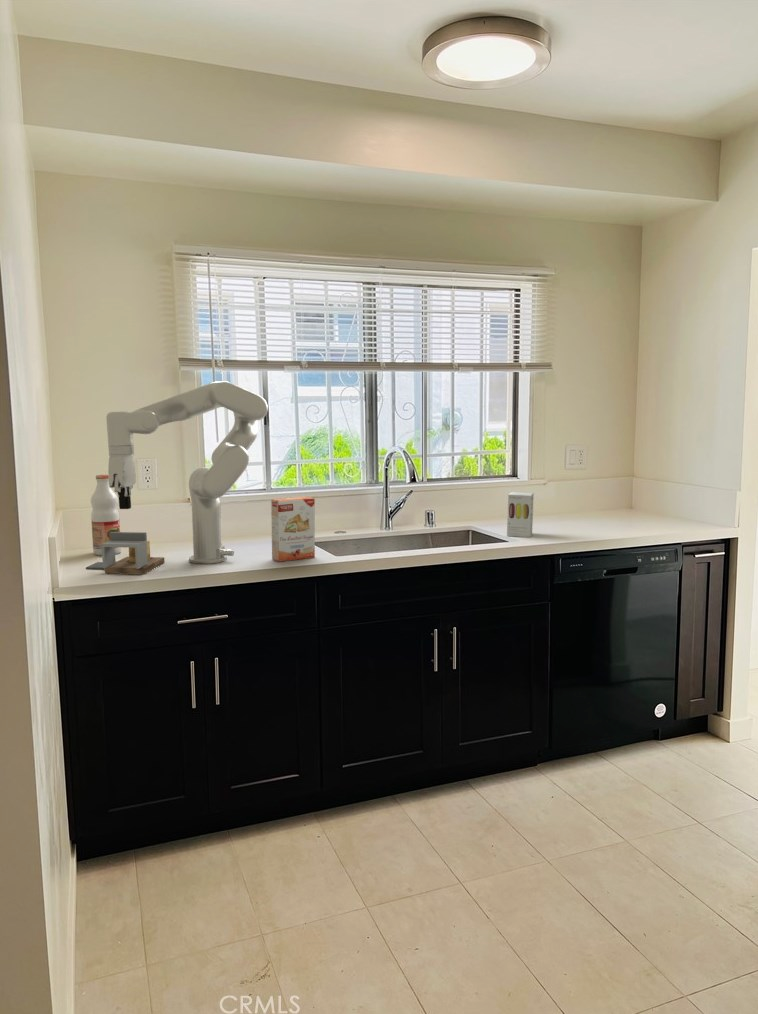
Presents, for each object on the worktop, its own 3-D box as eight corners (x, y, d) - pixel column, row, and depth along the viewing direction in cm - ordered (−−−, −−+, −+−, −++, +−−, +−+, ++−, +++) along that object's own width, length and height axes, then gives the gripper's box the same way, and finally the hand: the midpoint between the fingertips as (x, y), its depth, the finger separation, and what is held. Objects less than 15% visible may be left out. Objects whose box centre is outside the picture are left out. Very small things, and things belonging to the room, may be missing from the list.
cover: (147, 563, 239) (146, 532, 237) (138, 568, 232) (136, 536, 230) (113, 563, 240) (111, 531, 239) (102, 568, 233) (101, 535, 232)
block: (150, 564, 249) (149, 540, 248) (144, 567, 244) (143, 543, 243) (136, 564, 249) (135, 540, 248) (129, 567, 244) (128, 543, 243)
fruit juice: (98, 550, 272) (94, 474, 268) (124, 550, 272) (120, 473, 268) (89, 556, 262) (84, 476, 258) (116, 555, 262) (112, 476, 258)
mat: (120, 564, 249) (120, 562, 249) (109, 569, 241) (109, 567, 241) (97, 563, 250) (97, 562, 250) (85, 569, 242) (85, 567, 242)
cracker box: (279, 562, 251) (277, 500, 248) (271, 559, 256) (270, 498, 253) (316, 557, 258) (315, 497, 255) (307, 554, 263) (306, 495, 260)
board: (164, 563, 250) (164, 557, 250) (144, 574, 235) (144, 567, 234) (127, 562, 252) (127, 556, 251) (105, 573, 236) (104, 567, 236)
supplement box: (506, 536, 297) (507, 494, 295) (509, 532, 306) (510, 491, 304) (530, 537, 294) (531, 495, 292) (532, 533, 303) (534, 492, 301)
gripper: (120, 449, 243) (124, 505, 246) (98, 453, 228) (103, 512, 231) (142, 449, 242) (146, 505, 245) (122, 452, 227) (126, 512, 230)
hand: (125, 508), depth 238 cm, fingers closed
